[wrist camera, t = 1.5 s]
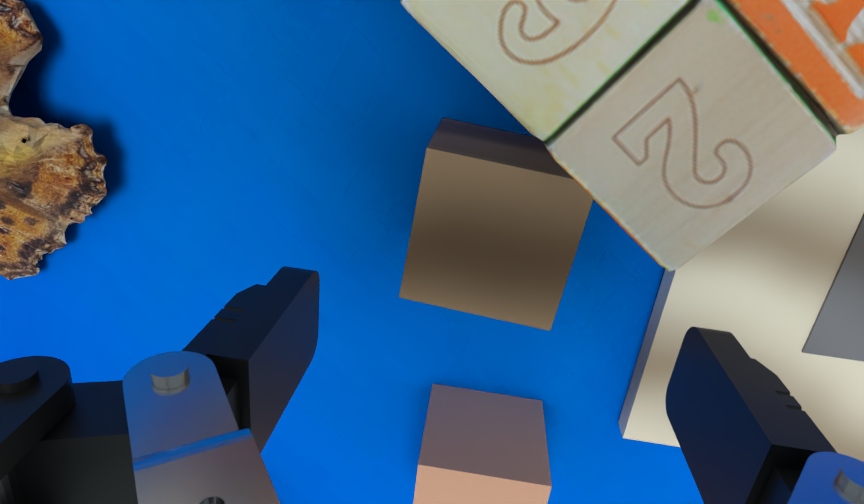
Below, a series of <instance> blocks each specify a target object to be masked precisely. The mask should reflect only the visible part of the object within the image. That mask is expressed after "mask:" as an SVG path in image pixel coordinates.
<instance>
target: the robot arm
mask: <svg viewBox="0 0 864 504" xmlns="http://www.w3.org/2000/svg"><path fill="white" fill-rule="evenodd" d="M318 320H319V274H318V272H317V271H313V270H306V269H299V268H292V267H285V266H284V267H282V268H281V269H280V270H279V271H278V272H277V274H276V275H275V276H274V277H273V278H272V279H271V280H270V282H269V283H268V284H267V285H266V286H265V285H258V284H256V285H254V286H252V287H249V288H247V289H245V290H243V291H241V292H239V293H237V294H236V295H235V296H234V297H233V298H232V299H231V300H230V301H229V302H228V303H227V304H226V305H225V307H224V309H221V310H220V312H219V313H218V314H217V315H216V316H215V318H214V320H213V319H212V320H211V321H210V322H209V323H208V324H207V325H206V326H205V327H204V328H203V329H202V330H201V331H200V332H199V333H198V335H197V336H196V337H195V338H194V339H193V340H192V341H191V342H190V343H189V344H188V345H187V346H186V347H185V348H184V349H183V350H182V351H173V352H166V353H161V354H157V355H154V356H151V357H149V358H146V359H144V360H142V361H140V362H139V363H137V364H136V365H134V366H133V367H132V368H131V369H130V370H129V371H128V372H127V373H126V374H125V376H124V378H123V380H121V381H107V382H88V383H72V378H71V373H70V368H69V366H68V365H67V364H66V363H65V362H64V361H62V360H60V359H57V358H54V357H48V356H30V357H22V358H16V359H12V360H8V361H5V362H2V363H0V504H280V502H279V500H278V497H277V495H276V492H275V490H274V487H273V485H272V482H271V480H270V477H269V475H268V472H267V470H266V467H265V465H264V462H263V460H262V457H261V455H260V453H261V451H262V450H263V448H264V446H265V444H266V442H267V440H268V439H269V437H270V435H271V433H272V431H273V430H274V428H275V426H276V424H277V422H278V421H279V419H280V417H281V415H282V413H283V411H284V410H285V408H286V406H287V404H288V402H289V401H290V399H291V397H292V395H293V393H294V391H295V390H296V388H297V386H298V384H299V382H300V381H301V379H302V377H303V375H304V373H305V371H306V370H307V368H308V366H309V364H310V362H311V360H312V358H313V356H314V353H315V349H316V345H317V339H318ZM665 404H666V413H667V416H668V419H669V421H670V424H671V426H672V428H673V431H674V433H675V435H676V438H677V440H678V442H679V445H680V447H681V450H682V452H683V454H684V457H685V459H686V461H687V464H688V466H689V468H690V471H691V473H692V476H693V478H694V480H695V483H696V485H697V487H698V490H699V492H700V494H701V497H702V499H703V501H704V504H864V462H863V461H860V460H858V459H855V458H853V457H850V456H847V455H843V454H840V453H837V451H836V450H835V449H834V448H833V446H832V445H831V444H830V443H829V441H828V440H827V439H826V437H825V436H824V435H823V434H822V432H821V431H820V430H819V428H818V427H817V426H816V425H815V423H814V422H813V421H812V419H811V418H810V417H809V416H808V414H807V413H806V412H805V411H802V407H801V405H800V404H799V403H798V402H797V400H796V399H795V398H794V396H790V391H789V390H788V389H787V387H786V386H785V385H784V384H783V382H782V381H781V380H780V378H779V377H778V376H777V375H776V374H775V373H773V372H772V371H771V370H769V369H768V368H767V367H765V366H764V365H763V364H761V363H760V362H759V361H757V360H756V359H753V358H750V356H749V355H748V354H747V352H746V351H745V350H744V348H743V347H742V346H741V344H740V343H739V342H738V340H737V339H736V338H735V336H734V335H733V334H732V333H731V332H728V331H721V330H714V329H707V328H700V327H691V328H689V329H688V330H687V332H686V334H685V336H684V339H683V342H682V345H681V348H680V351H679V353H678V356H677V359H676V362H675V365H674V368H673V371H672V374H671V377H670V380H669V383H668V387H667V391H666V400H665Z"/></svg>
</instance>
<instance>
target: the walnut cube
mask: <svg viewBox="0 0 864 504" xmlns="http://www.w3.org/2000/svg"><path fill="white" fill-rule="evenodd" d="M592 202H593V198H592V197H591V196H590V195H589V194H588V193H587V192H586V191H585V190H584V189H583V188H582V187H581V186H580V185H579V184H578V183H577V182H576V181H575V180H574V179H573V178H572V177H571V176H570V175H569V174H568V173H567V172H566V171H565V170H564V169H563V168H562V167H561V166H560V165H559V164H558V163H557V162H556V161H555V160H554V159H553V157H552V156H551V154H550V153H549V151H548V150H547V148H546V146H545V144H544V142H543V141H542V140H540V139H539V138H537V137H532V136H528V135H523V134H518V133H513V132H509V131H504V130H499V129H495V128H490V127H485V126H481V125H476V124H471V123H466V122H462V121H457V120H452V119H448V118H442V120H441V122H440V124H439V125H438V127H437V129H436V131H435V133H434V135H433V137H432V139H431V141H430V143H429V144H428V146H427V149H426V154H425V160H424V165H423V171H422V176H421V181H420V187H419V192H418V197H417V203H416V208H415V214H414V219H413V224H412V230H411V235H410V240H409V246H408V251H407V257H406V262H405V267H404V273H403V278H402V283H401V289H400V294H399V297H400V298H404V299H409V300H413V301H418V302H422V303H427V304H431V305H436V306H440V307H445V308H449V309H454V310H458V311H463V312H467V313H472V314H477V315H481V316H486V317H490V318H495V319H499V320H504V321H508V322H513V323H517V324H522V325H526V326H531V327H535V328H540V329H544V330H549V331H550V330H551V327H552V324H553V321H554V318H555V315H556V312H557V309H558V306H559V303H560V300H561V297H562V294H563V290H564V287H565V284H566V281H567V278H568V275H569V272H570V269H571V266H572V263H573V260H574V257H575V254H576V251H577V248H578V245H579V242H580V239H581V236H582V233H583V230H584V226H585V223H586V220H587V217H588V214H589V211H590V208H591V205H592Z"/></svg>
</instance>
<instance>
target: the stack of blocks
mask: <svg viewBox="0 0 864 504" xmlns="http://www.w3.org/2000/svg"><path fill="white" fill-rule="evenodd" d="M401 4H402V5H403V7H404V8H405V9H406V10H407V11H408V12H409V13H410V14H411V15H412V16H413V17H414V18H415V19H416V20H417V21H418V22H419V23H420V24H421V25H422V26H423V27H424V28H425V29H426V30H427V31H428V32H429V33H430V34H431V35H432V36H433V37H434V38H435V39H436V40H437V41H438V42H439V43H440V44H441V45H442V46H443V47H444V48H445V49H446V50H447V51H448V52H449V53H450V54H451V55H452V56H453V57H455V58H456V59H457V60H458V61H459V62H460V63H461V64H462V65H463V66H464V67H465V68H466V69H467V70H468V71H469V72H470V73H471V74H472V75H473V76H474V77H475V78H476V79H477V80H479V81H480V83H481V84H482V85H483V86H484V87H485V88H486V89H487V90H488V91H489V92H490V93H491V94H492V95H493V96H494V97H495V98H496V99H497V100H498V101H499V102H500V103H501V104H502V105H503V106H504V107H505V108H506V109H507V110H508V111H509V112H510V113H511V114H512V115H513V116H514V117H515V118H516V119H517V120H518V121H519V122H520V123H521V124H522V125H523V126H524V127H525V128H526V129H527V130H528V131H529V132H530V133H531V134H533V135H534V136H536V137H537V138H539V139H540V140H542V141H543V142H544V144H545V146H546V148H547V150H548V151H549V153H550V154H551V156H552V157H553V159H554V160H555V161H556V162H557V163H558V164H559V165H560V166H561V167H562V168H563V169H564V170H565V171H566V172H567V173H568V174H569V175H570V176H571V177H572V178H573V179H574V180H575V181H576V182H577V183H578V184H579V185H580V186H581V187H582V188H583V189H584V190H585V191H586V192H587V193H588V194H589V195H590V196H591V197H592V198H593V199H594V200H595V201H596V202H597V203H598V204H599V205H600V206H601V207H602V208H603V209H604V210H605V211H606V212H607V213H608V214H609V215H610V216H611V217H612V218H613V219H614V220H615V221H616V222H617V223H618V224H619V225H620V226H621V227H622V228H623V229H624V230H625V231H626V232H627V233H628V234H629V235H630V236H631V237H632V238H633V239H634V240H635V241H636V242H637V243H638V244H639V245H640V246H641V247H642V248H643V249H644V250H645V251H646V252H647V253H648V254H649V255H650V256H651V257H652V258H653V259H654V260H655V261H656V262H657V263H658V264H659V265H660V266H662V267H663V268H665V269H666V270H667V271H669V272H670V271H673V270H677V269H679V268H680V267H682V266H683V265H684V264H686V263H687V262H688V261H690V260H691V259H692V258H693V257H695V256H696V255H697V254H699V253H700V252H701V251H703V250H704V249H705V248H706V247H708V246H709V245H710V244H712V243H713V242H714V241H716V240H717V239H718V238H720V237H721V236H722V235H724V234H725V233H726V232H728V231H729V230H730V229H732V228H733V227H734V226H736V225H737V224H738V223H740V222H741V221H742V220H744V219H745V218H746V217H748V216H749V215H750V214H752V213H753V212H754V211H756V210H757V209H758V208H760V207H761V206H762V205H764V204H765V203H766V202H768V201H769V200H770V199H772V198H773V197H774V196H776V195H777V194H778V193H780V192H781V191H783V190H784V189H785V188H787V187H788V186H789V185H791V184H792V183H794V182H795V181H796V180H798V179H799V178H801V177H802V176H803V175H805V174H806V173H807V172H809V171H810V170H812V169H813V168H814V167H816V166H817V165H819V164H820V163H821V162H823V161H824V160H826V159H827V158H828V157H829V156H831V155H832V154H833V153H834V152H835V151H836V136H838V135H841V134H852V133H854V132H855V131H857V130H859V129H861V128H862V127H864V0H401Z"/></svg>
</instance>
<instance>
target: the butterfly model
mask: <svg viewBox="0 0 864 504" xmlns="http://www.w3.org/2000/svg"><path fill="white" fill-rule="evenodd" d="M21 41H22V42H21ZM42 43H43V36H42V34H41V32H40V31H39V29H38V27H37V25H36V23H35V21H34V19H33V17H32V16H31V14H30V12H29V10H28V8H27V6H26V5H25V3H24V2H22V1H18V0H0V275H2V276H4V277H6V278H7V279H8V280H11V279H16V278H20V277H27V276H34V275H37V273H38V272H39V271H40V268H38V260H39V261H40V260H42V255H43V254H45V253H53V251H54V250H55V249H59V248H63V247H64V246H65V245H66V241H65V233H64V232H65V230H66V228H67V226H68V225H69V224H72V223H75V222H77V223H82V222H83V221H84V220H85V216H87V215H91V214H92V212H91V207H92V206H95V205H97V204H98V203H99V202H100V201H101V200H102V199H103V198H104V197H105V196H106V194H107V191H106V190H107V189H106V187H105V185H106V181H105V179H104V177H103V172H104V167H105V166H106V162H108V160H107V157H106V156H105V155H102V154H100V153H98V152H96V150H95V148H94V146H93V130H92V129H91V128H90V127H89V126H87V125H85V124H79V125H76V126H72V127H71V128H65V127H63V126H62V125H60V124H58V123H48V124H45V123H44V122H43V121H42V120H41V119H40V118H23V117H18V116H12V114H11V111H10V108H9V105H8V104H9V101H10V98H11V94H12V91H13V90H14V88H15V86H16V84H17V83H18V81H19V79H20V77H21V75H22V74H23V72H24V70H25V68H26V66H27V64H28V62H29V61H30V60H31V59H32V58H33V57H34V56H35V55H36V54H38V53H39V52H40V51H41V49H42ZM78 147H79V148H78ZM71 150H72V152H71ZM62 165H63V166H62ZM52 167H53V168H52ZM97 178H98V179H97ZM90 186H92V187H91V188H90ZM37 191H38V192H37ZM36 192H37V193H36ZM58 193H59V194H60V195H59V194H58ZM45 196H46V197H45ZM9 211H11V212H9ZM2 213H3V214H2ZM30 217H31V218H30ZM70 217H71V218H73V220H71V218H70ZM41 218H42V219H41ZM34 222H35V223H34ZM60 222H61V223H60ZM9 227H10V228H9ZM45 243H46V244H45ZM28 252H29V253H28Z"/></svg>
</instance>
